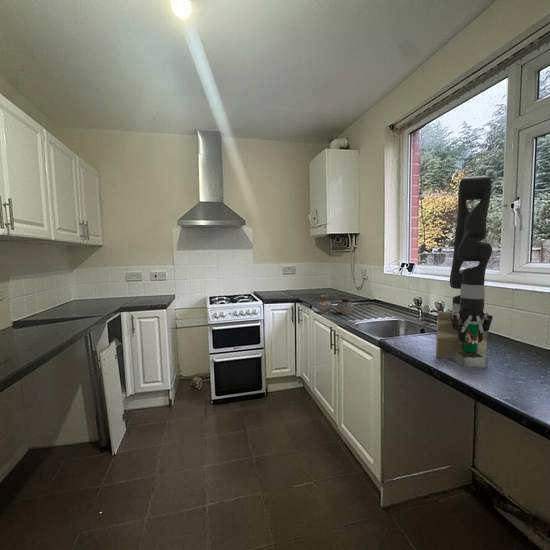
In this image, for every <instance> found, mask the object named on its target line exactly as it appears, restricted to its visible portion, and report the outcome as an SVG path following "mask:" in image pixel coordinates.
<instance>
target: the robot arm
mask: <svg viewBox="0 0 550 550" xmlns="http://www.w3.org/2000/svg"><path fill="white" fill-rule="evenodd" d="M492 185H493V183H492V178H491V177H490V176H488V175H481V176H480V175H478V176H466V177H462V178H461V179H460V181H459V184H458V194H457V197H458V198H457V199H458V200H457V217H456V226H455V234H454V243H453V244H454V245H453V258H452V263H451V270H450V276H449V285H450V287H451V288H452V289H456V290H459V291H460V295H455V296H453V297H452V303H451V306H452V307H451V312H459V313H458V314H451V320H452V325H453V329H455V330H457V331H459V334H458V339H459V340H460V341H461V342H465V332H464V331H465V329H466V327H468V324H469V322H470V321H478V322H477V323H478V324H479V338H478V343H481V341H482V338H483V332H485V331H487V332H489V330H490V328H491V325H492V320H493V315H490V314H489V313H488V314H484V312H485V311H484V310H485V298H486V297H485V296H486V291H485V290H486V289H485V279H486V270H487V266H488V263H489V261H490V260H491V256H492V253H493V247H492V244H490V243H489V242H486V241H483V240H485V238H486V236H487V218H488V217H487V216H488V212H489V207H490V200H491V195H492ZM467 201H479V202H478V204H477V205H476V206H475V207H474V208H473V209H472V210H471V211H470V210H469V207H468V203H467ZM464 262H479V263H478V265H475V266H472V267H467V268H464V269H463V268H462V269H461V267H462V266H463V264H464ZM459 316H460V318H461V321H460V325H459V324H458V319H459ZM483 317H484V322H483V325H482V323H481V320H482V318H483ZM463 322H465V323H464V324H463Z"/></svg>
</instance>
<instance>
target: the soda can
mask: <svg viewBox="0 0 550 550" xmlns="http://www.w3.org/2000/svg"><path fill="white" fill-rule="evenodd" d="M477 322H478V321H470V322H469V324H468V327H466V329H465V331H464V332H465V342H462V351H463V352H465V353H470V354H476V353H477V352H478V338H479V324H478V323H477ZM464 323H465V322H463V324H464Z"/></svg>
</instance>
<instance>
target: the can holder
mask: <svg viewBox="0 0 550 550" xmlns="http://www.w3.org/2000/svg"><path fill="white" fill-rule="evenodd" d="M450 358H451V359H452V360H453V361H454V362H456V363H457V364H458V365H460V366H462V367H463V368H484V369H485V368H488V357H487V356H486V357H485V356H483V355H481V354H480V353H478V352H477V353H476V354H471V356H470V357H464V356H463V355H461V354H460V353H458V352H457V351H455V350H454V349H451V356H450ZM450 358H449V359H450Z"/></svg>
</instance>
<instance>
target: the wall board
mask: <svg viewBox="0 0 550 550" xmlns="http://www.w3.org/2000/svg"><path fill="white" fill-rule="evenodd" d="M483 312H484V314H488V315H489V312H487V311H486V312H485V311H483ZM458 313H459V312H452V311H437V318H436V320H437V321H436V341H435V343H436V345H435V356H436V357H437V358H449V359H450V356H451V349H454V350H455V351H457V352H458V353H460V354H461V355H463V356H464V357H470V356H471V354H470V353H465V352H463V351H462V342H461V341H460V340H459V339H458V334H459V331H457V330H455V329H453V325H452V320H451V314H458ZM460 321H461V318H460V316H459V319H458V324H459V325H460ZM483 322H484V317H483V318H482V320H481V323H482V325H483ZM487 342H488V331H485V332H483V338H482V341H481V343H478V353H480V354H481V355H483V356H485V357H487Z"/></svg>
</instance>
